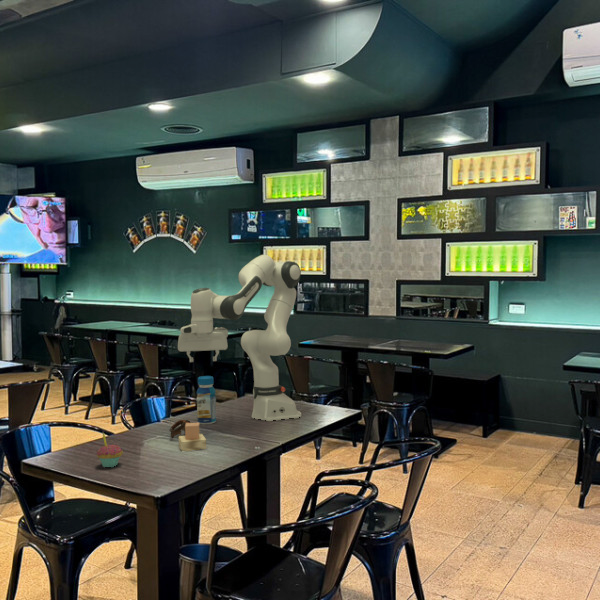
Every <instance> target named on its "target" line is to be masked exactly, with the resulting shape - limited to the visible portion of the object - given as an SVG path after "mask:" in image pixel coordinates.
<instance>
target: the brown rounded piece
mask: <svg viewBox="0 0 600 600" xmlns="http://www.w3.org/2000/svg"><path fill="white" fill-rule="evenodd" d="M186 423H191V421H190V420H189V419H181V420H177V421H176V422H175V423H174V424H172V425H171V426H170V428H169V432H170V437H171V438H172V439H173V438H174V437H176V436H177V435H178V436H182V431H184V432H185V425H186Z"/></svg>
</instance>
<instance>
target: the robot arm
mask: <svg viewBox="0 0 600 600" xmlns="http://www.w3.org/2000/svg"><path fill="white" fill-rule="evenodd" d="M301 271H302V270H301V267H300V266H299V264H298V263H297V262H295V261H290V260H286V261H277V262H275V261H274V259H273V258H272V257H271V256H270V255H267V254H260V255H259V256H256V257H254V258H253V259H252V260H250V261H249V262H248V263H247V264H246V265H244V266H243V267H242V268H241V269H240V271H239V273H238V281H239V282H238V283H239V284H240V286H241V287H242V288H241V289H240V290H239V291H238V292H237V293H236V294H233V295H219V294H217V293H215V292H214V291H212V290H211V288H209V287H200V288H196V289H194V290H192V293H191V295H190V312H191V319H190V324H187V325H184V326H182V327H181V328H180V329H179V330H180V334H179V336H178V339H177V340H178V341H177V350H178V351H179V352H186V355H187V357H188V358H189V363H194V357H192V356H191V355H190V354H191V352H203V351H215V356H212V362H217V361H218V359H217V357H218V355H219V353H220V351H226V350H227V349H228V347H229V346H228V339H227V338H228V336H229V331H228V329H227V328H226V327H224V326H221V327H219V326H218V327H216V326H215V327H214V319H220V320H221V319H223V320H230V321H237V320H239V319H240V318H241V317H242V316H243V314H244V312H245V310H246V308H247V307H248V306H249V304H251V303H250V302H251V301H252V300H253V299H254V298H255V297H256V295H257V294H258V293H259V292H260V290H261V289H262V287H263V286H266V287H274V292H273V294H272V296H271V298H270V300H269V302H268V305H267V308H266V309H265V312H264V314H263V317H264V320H265V322H266V323H267V328H266V329H265V330H264V329H263V330H262V329H251V330H247V331H245V332H244V333H243V334H242V336H241V338H240V345H241V348H242V350H243V351H244V352H245V353H246V354H247V356H248V358H249V360H250V362H251V365H252V369H253V371H252V372H253V381H254V382H253V387H252V388H253V389H252V397H253V407H252V412H251V413H252V414H251V418H252V419H254V418H255V419H254V420H258V419H261V420H260V421H265V420H266V422H274V421H273V420H276V421H282V420H281V419H285V420H290V419H289V418H294V419H300V418H301V417H302V412H301V411H300V410H297V405H296V402H295V401H294V400H293V399H292V398H291V397H289V396H288V395H286V393H285V391H286V388H285V387H284V386H282V385H280V384H279V382H280V380H279V367H278V366H277V365H276V364H275V363H274V362H273V360H272V358H271V356H272V357H273V356H274V357H276V356H283V355H286V354H288V352H289V351H290V350H291V349H290V348H291V346H292V345H291V344H292V340H291V338H290V336H289V334H288V332H287V325H288V322H289V318H290V316H291V314H292V311H293V309H294V305H295V303H296V298H297V290H296V287H297V286H298V284H299V282H300V279H301V275H302V274H301V273H302V272H301ZM299 417H300V418H299Z"/></svg>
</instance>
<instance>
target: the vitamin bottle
mask: <svg viewBox="0 0 600 600" xmlns="http://www.w3.org/2000/svg"><path fill="white" fill-rule="evenodd" d="M197 385H198V388H197V390H196V409H197V410H196V413H197V415H196V416H197V418H196V419H197V422H196V423H199V425H212V424H215V423H216V422H217V404H216V403H217V397H216V390H215V388H214V386H213V385H214V377H213V376H211V375H203V376H199V377H197Z"/></svg>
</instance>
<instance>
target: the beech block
mask: <svg viewBox="0 0 600 600" xmlns="http://www.w3.org/2000/svg"><path fill="white" fill-rule="evenodd" d="M178 447H179V449H180V451H181V450H182V451H187V452H192V451H191V450H196V451H201V450H200V449H205V450H207V438H206V437H205V436H204V435H203V433H200V437H199V439H189V440H186V438H185V435H178ZM182 451H181V452H182Z"/></svg>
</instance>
